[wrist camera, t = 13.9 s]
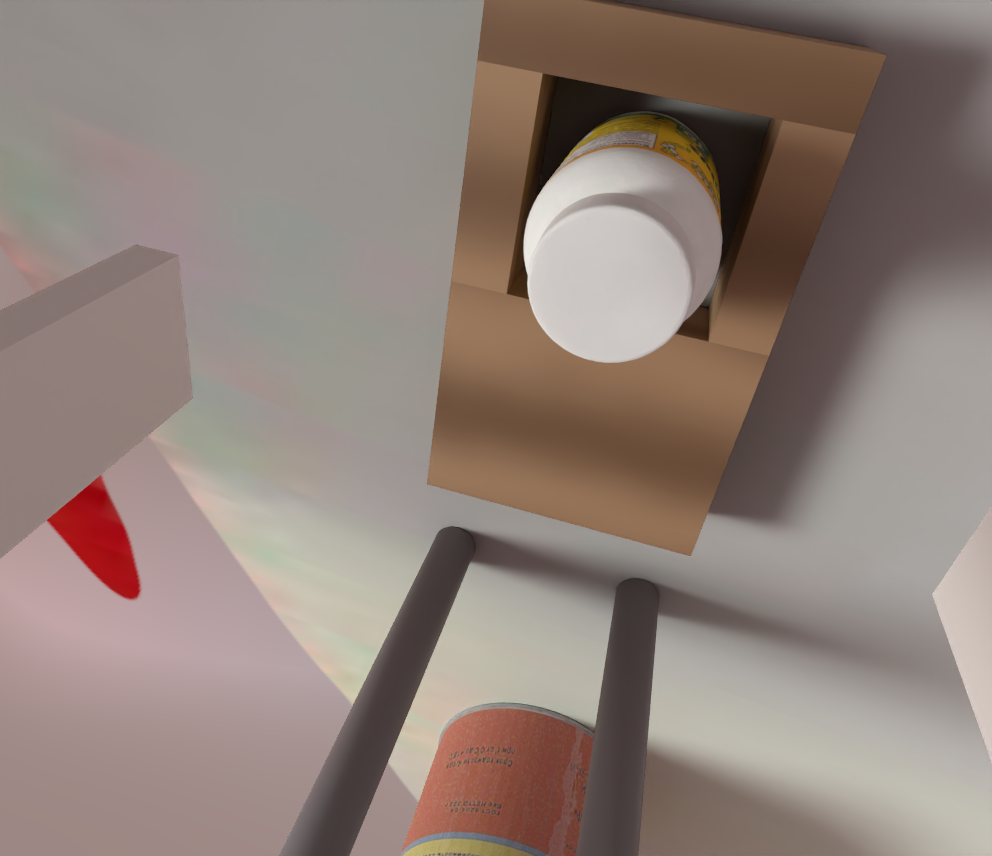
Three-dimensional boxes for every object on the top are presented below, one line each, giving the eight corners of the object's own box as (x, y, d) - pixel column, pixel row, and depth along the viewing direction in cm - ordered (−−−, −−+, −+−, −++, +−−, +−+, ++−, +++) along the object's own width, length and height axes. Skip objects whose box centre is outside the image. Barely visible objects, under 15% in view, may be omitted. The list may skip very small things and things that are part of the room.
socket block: (510, -18, 23) (486, -18, 21) (866, 46, 22) (887, 55, 19) (448, 446, 33) (427, 484, 31) (692, 510, 32) (690, 556, 29)
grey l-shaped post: (450, 344, 30) (-225, 1291, 8) (741, 416, 29) (844, 1799, 7) (424, 550, 37) (-2, 1402, 15) (663, 618, 35) (586, 1682, 13)
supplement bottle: (550, 126, 25) (476, 192, 17) (713, 93, 24) (714, 149, 16) (576, 277, 28) (522, 395, 20) (725, 257, 26) (732, 378, 18)
